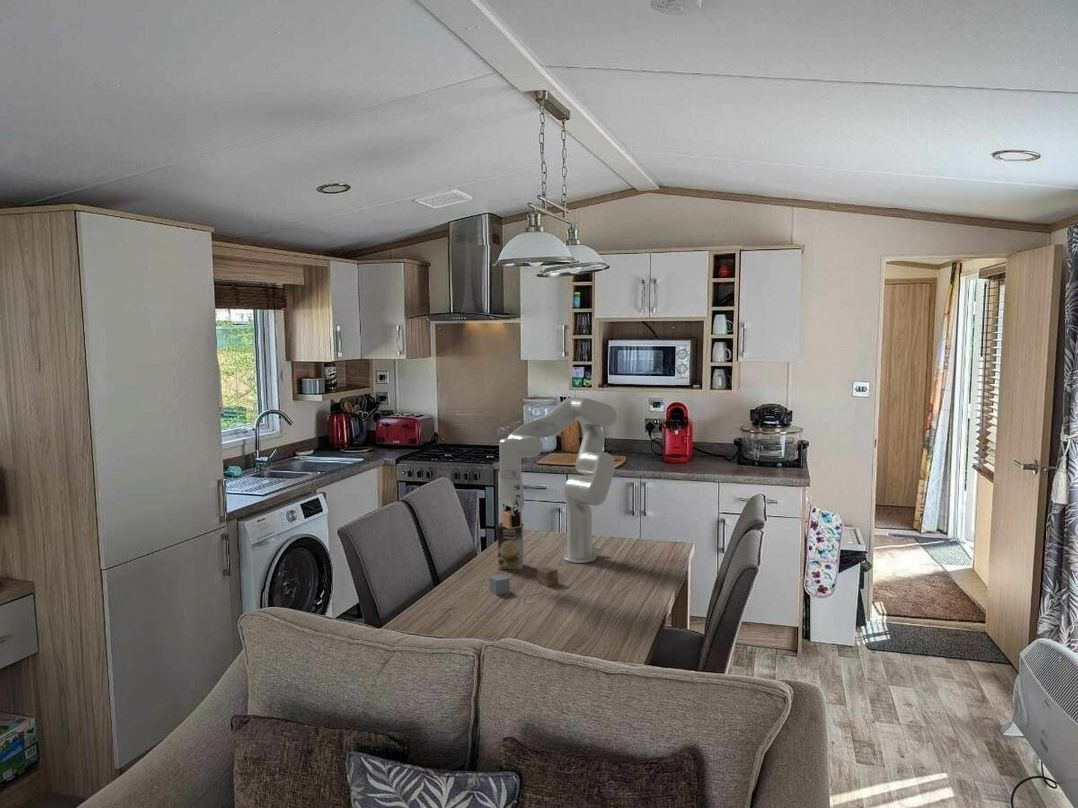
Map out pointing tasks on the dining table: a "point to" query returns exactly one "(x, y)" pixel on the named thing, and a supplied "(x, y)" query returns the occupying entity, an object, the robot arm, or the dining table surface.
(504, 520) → the rust block
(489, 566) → the dining table surface
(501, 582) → the slate block
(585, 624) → the dining table surface
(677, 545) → the dining table surface
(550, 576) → the walnut block
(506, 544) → the coffee box
